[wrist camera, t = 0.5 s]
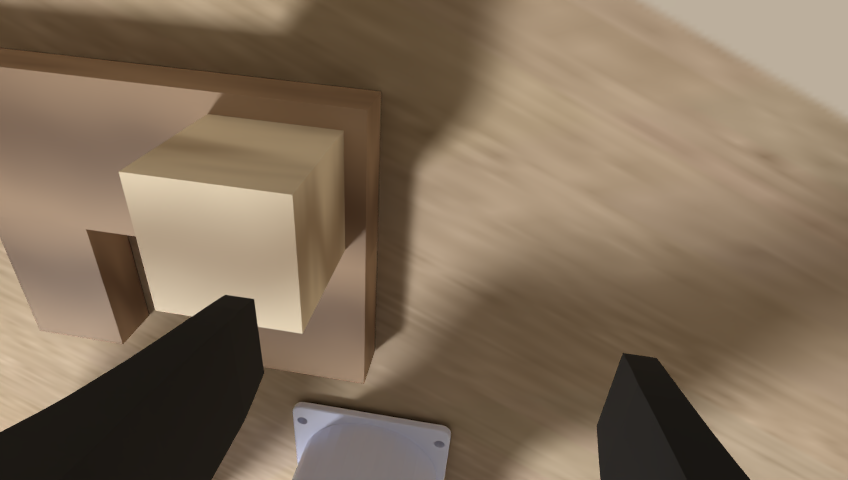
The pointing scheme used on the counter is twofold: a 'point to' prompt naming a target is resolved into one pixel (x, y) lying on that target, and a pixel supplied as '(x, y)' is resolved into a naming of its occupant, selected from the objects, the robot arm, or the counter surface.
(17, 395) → the counter surface
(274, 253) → the block
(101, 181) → the deck
